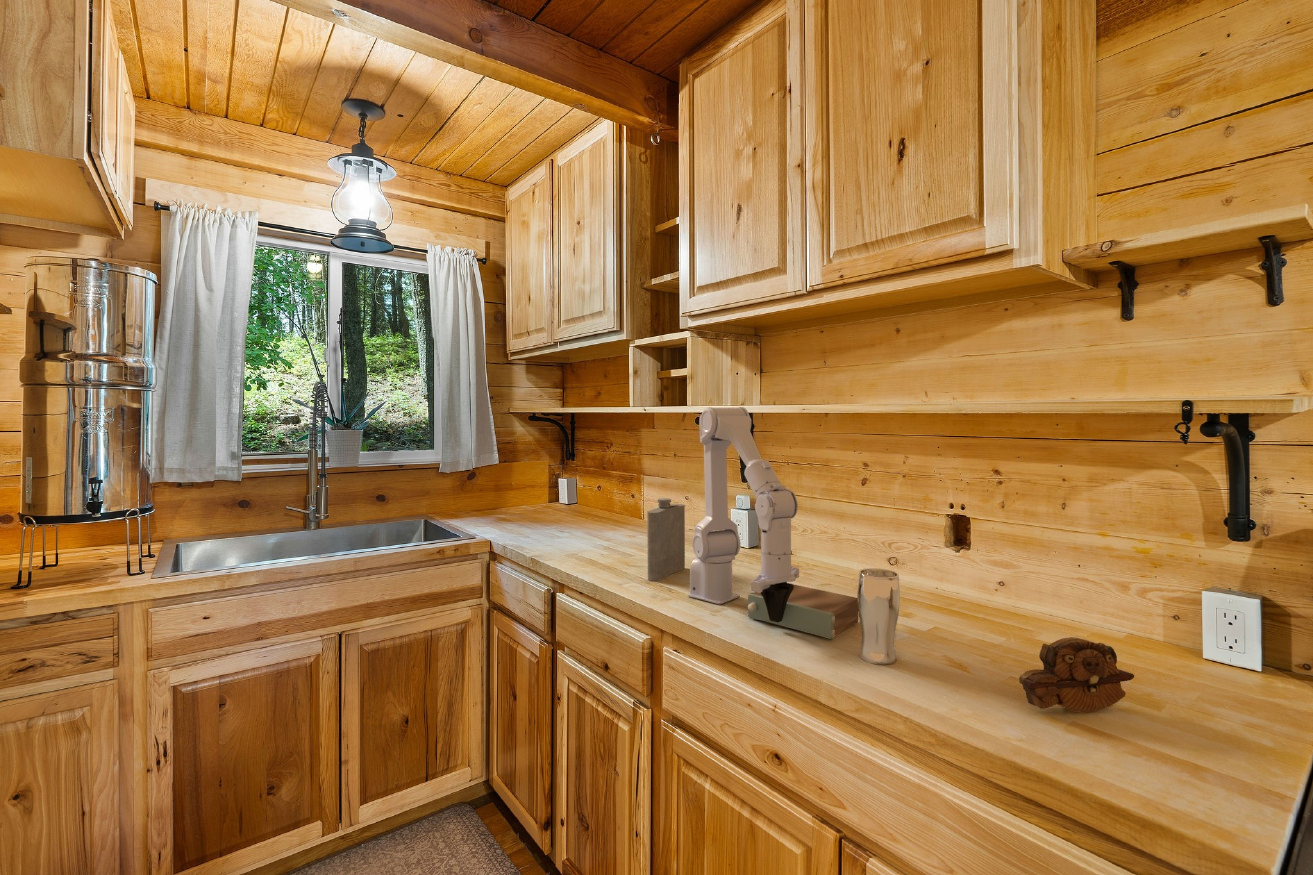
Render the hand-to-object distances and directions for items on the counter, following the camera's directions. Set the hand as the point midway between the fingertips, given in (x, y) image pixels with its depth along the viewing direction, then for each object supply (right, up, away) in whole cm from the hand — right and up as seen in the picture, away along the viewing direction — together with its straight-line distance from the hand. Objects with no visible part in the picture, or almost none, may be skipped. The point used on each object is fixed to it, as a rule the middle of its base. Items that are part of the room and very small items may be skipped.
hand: (775, 620), depth 122 cm
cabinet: (+7, -2, +6) cm, 9 cm away
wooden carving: (+37, -3, -33) cm, 50 cm away
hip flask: (-21, 0, +43) cm, 48 cm away
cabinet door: (+2, -1, 0) cm, 3 cm away
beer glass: (+15, -3, -14) cm, 21 cm away
